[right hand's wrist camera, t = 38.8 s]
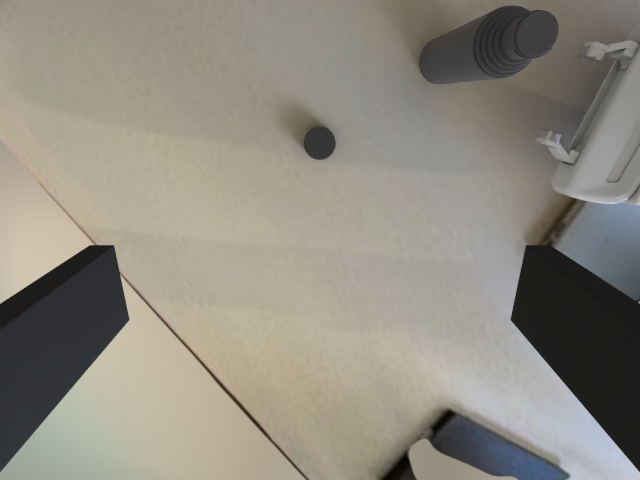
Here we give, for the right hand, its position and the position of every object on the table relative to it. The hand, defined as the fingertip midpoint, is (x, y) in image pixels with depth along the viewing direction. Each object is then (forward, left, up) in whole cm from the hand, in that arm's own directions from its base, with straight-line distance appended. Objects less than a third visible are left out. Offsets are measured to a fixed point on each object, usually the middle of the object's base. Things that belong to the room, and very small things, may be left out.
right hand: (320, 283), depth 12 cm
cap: (0, 0, -39) cm, 39 cm away
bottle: (-3, +17, -41) cm, 44 cm away
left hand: (+5, +27, -34) cm, 44 cm away
